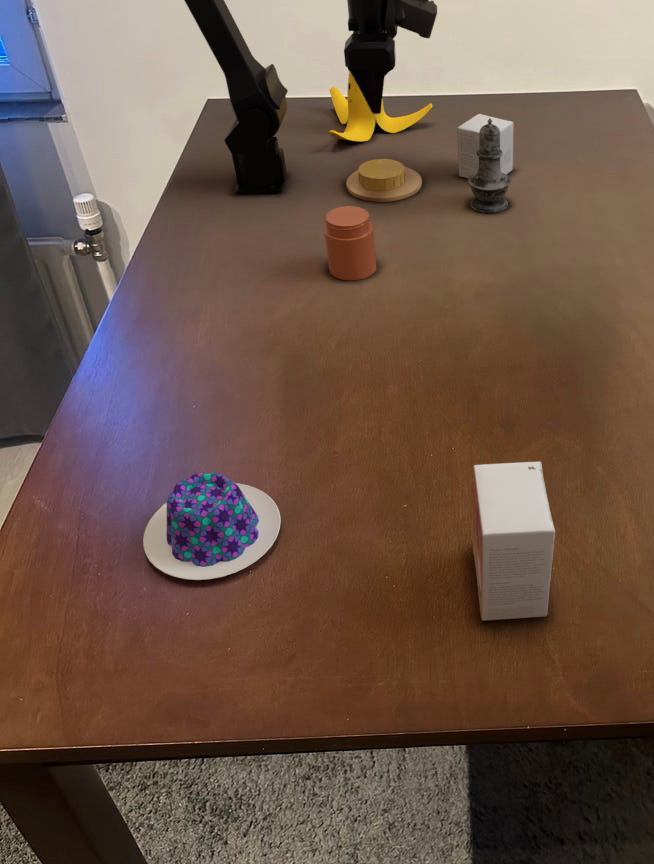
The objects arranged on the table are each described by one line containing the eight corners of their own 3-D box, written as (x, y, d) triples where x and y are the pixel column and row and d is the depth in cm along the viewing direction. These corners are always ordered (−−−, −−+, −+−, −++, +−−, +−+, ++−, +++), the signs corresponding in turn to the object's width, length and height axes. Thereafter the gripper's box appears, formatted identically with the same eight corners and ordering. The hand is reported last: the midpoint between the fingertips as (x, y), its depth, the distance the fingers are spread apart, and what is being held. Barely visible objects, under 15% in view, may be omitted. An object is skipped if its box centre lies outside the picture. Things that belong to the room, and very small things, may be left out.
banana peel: (330, 154, 138) (316, 37, 126) (331, 107, 151) (319, -2, 139) (437, 149, 139) (433, 33, 127) (428, 103, 152) (424, -6, 141)
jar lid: (405, 170, 132) (404, 158, 131) (405, 190, 127) (404, 178, 126) (360, 171, 132) (359, 159, 131) (358, 191, 127) (356, 179, 126)
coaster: (344, 202, 126) (343, 198, 126) (348, 169, 134) (348, 165, 134) (421, 201, 126) (421, 197, 126) (422, 167, 134) (421, 163, 134)
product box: (513, 171, 133) (515, 121, 128) (492, 186, 130) (492, 136, 125) (479, 161, 136) (479, 112, 131) (457, 176, 132) (456, 126, 127)
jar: (327, 281, 111) (320, 228, 106) (330, 257, 115) (323, 205, 110) (376, 279, 111) (371, 226, 106) (377, 255, 115) (372, 203, 110)
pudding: (254, 594, 75) (242, 552, 71) (121, 575, 76) (103, 533, 73) (299, 496, 83) (291, 454, 80) (179, 481, 85) (165, 439, 81)
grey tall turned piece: (511, 196, 128) (513, 110, 119) (508, 215, 123) (510, 127, 115) (470, 194, 128) (470, 108, 120) (466, 213, 124) (465, 126, 115)
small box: (472, 551, 78) (471, 462, 71) (535, 547, 79) (541, 458, 71) (480, 623, 73) (480, 534, 65) (548, 618, 73) (556, 530, 66)
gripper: (432, -8, 104) (437, 126, 115) (431, -49, 118) (436, 75, 129) (337, -7, 104) (351, 128, 115) (347, -48, 117) (358, 76, 128)
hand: (377, 100), depth 122 cm, fingers open, 9 cm apart
